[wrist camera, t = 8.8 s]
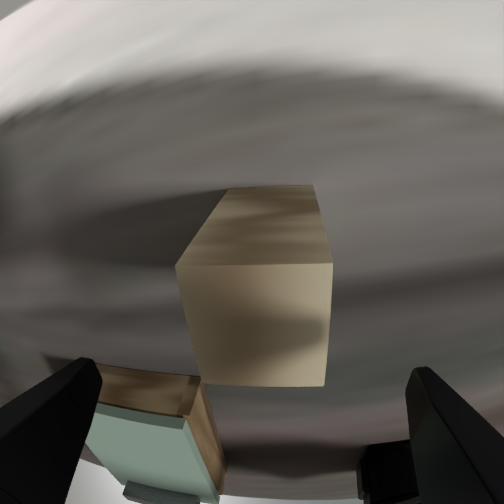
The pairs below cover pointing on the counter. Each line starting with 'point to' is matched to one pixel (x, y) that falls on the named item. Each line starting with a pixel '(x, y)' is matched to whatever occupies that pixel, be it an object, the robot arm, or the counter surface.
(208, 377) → the brown wooden block
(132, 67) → the counter surface
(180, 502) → the lid
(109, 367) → the open wooden tray
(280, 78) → the counter surface
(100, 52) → the counter surface
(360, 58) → the counter surface
